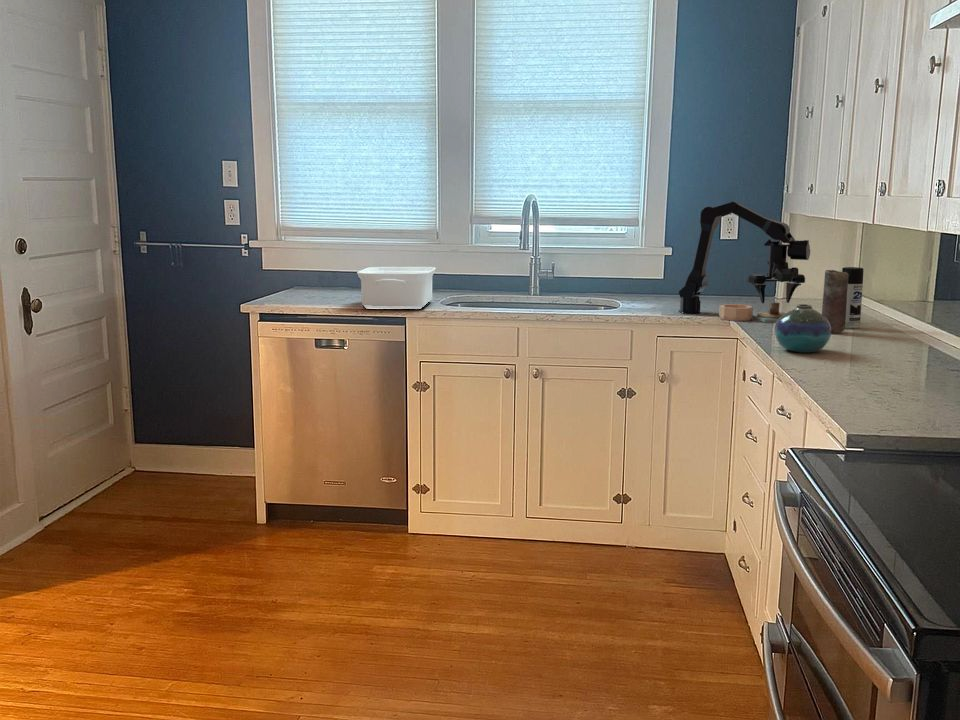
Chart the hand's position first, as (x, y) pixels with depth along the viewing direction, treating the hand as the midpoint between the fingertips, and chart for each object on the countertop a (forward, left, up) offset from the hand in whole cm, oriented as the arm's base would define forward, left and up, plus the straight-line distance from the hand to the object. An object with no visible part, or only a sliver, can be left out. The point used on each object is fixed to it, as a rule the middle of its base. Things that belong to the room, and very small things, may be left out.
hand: (775, 303), depth 315 cm
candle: (+6, -30, -6) cm, 31 cm away
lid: (0, 0, -5) cm, 5 cm away
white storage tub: (-132, +57, -6) cm, 144 cm away
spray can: (+16, -22, -6) cm, 28 cm away
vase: (-19, -59, -6) cm, 62 cm away
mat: (0, 0, -6) cm, 6 cm away
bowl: (-13, +3, -6) cm, 15 cm away
